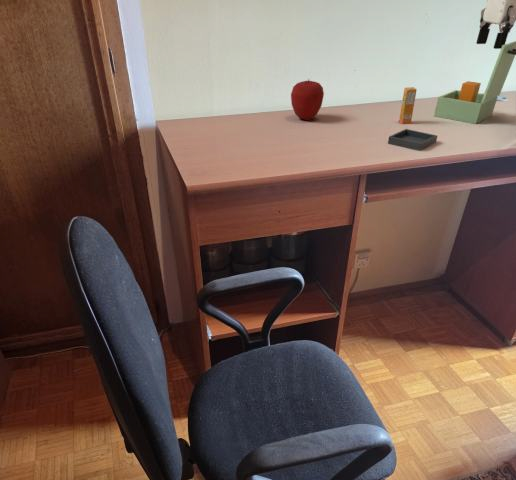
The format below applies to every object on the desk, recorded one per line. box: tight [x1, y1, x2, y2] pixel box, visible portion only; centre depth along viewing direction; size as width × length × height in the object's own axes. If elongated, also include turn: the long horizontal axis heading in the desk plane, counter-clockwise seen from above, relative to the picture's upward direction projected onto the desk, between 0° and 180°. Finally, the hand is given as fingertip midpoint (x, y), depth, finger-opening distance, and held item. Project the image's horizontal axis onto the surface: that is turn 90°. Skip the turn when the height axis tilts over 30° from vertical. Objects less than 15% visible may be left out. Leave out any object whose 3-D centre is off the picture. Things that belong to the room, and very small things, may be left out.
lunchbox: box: [433, 89, 498, 125], centre depth 152 cm, size 15×14×6 cm
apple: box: [290, 78, 325, 121], centre depth 147 cm, size 11×11×12 cm
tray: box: [387, 128, 438, 152], centre depth 131 cm, size 10×10×2 cm
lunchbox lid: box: [481, 40, 516, 103], centre depth 140 cm, size 15×14×6 cm
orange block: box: [458, 80, 482, 103], centre depth 150 cm, size 4×4×9 cm
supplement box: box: [398, 86, 417, 125], centre depth 144 cm, size 3×3×10 cm
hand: (489, 46), depth 141 cm, fingers open, 9 cm apart
